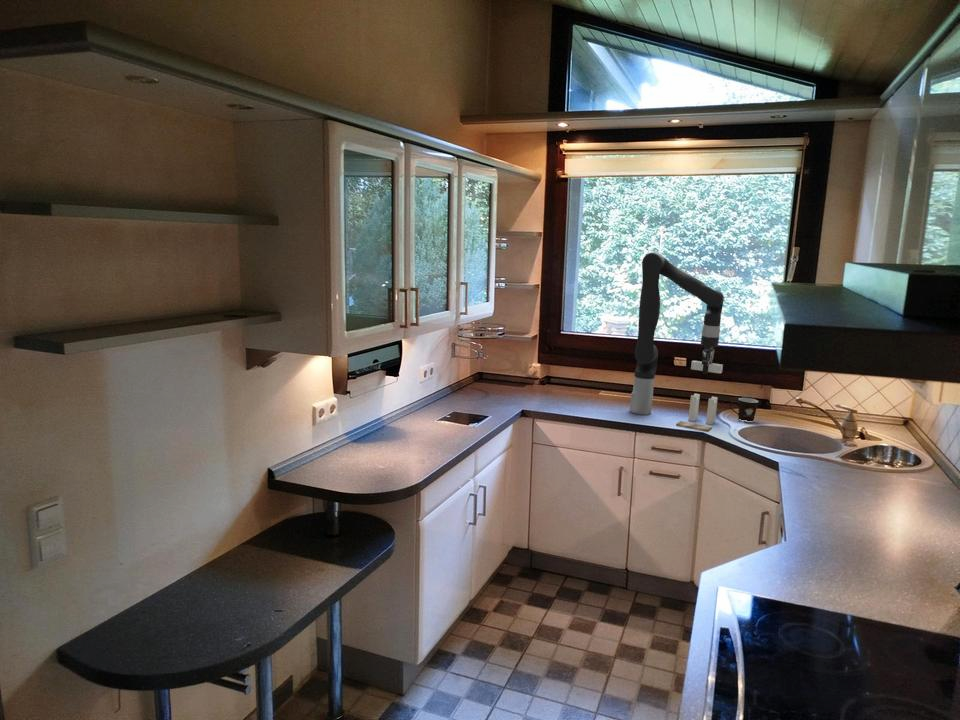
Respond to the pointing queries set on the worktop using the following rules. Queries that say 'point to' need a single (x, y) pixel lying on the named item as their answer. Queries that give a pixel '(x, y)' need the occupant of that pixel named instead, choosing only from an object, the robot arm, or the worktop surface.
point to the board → (694, 426)
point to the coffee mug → (746, 408)
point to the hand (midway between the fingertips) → (706, 372)
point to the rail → (711, 368)
